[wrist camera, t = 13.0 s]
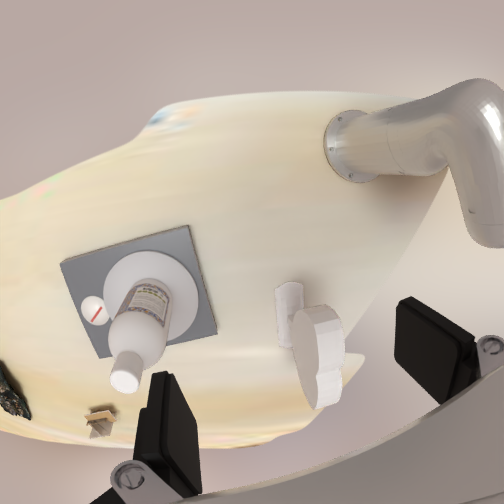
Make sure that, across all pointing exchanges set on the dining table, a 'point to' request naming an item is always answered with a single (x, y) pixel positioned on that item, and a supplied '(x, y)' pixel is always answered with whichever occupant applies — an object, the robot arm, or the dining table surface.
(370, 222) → the dining table surface
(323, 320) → the heart sculpture
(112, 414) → the architectural model
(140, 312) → the bath foam
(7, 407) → the decorative rock
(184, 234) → the dial scale
